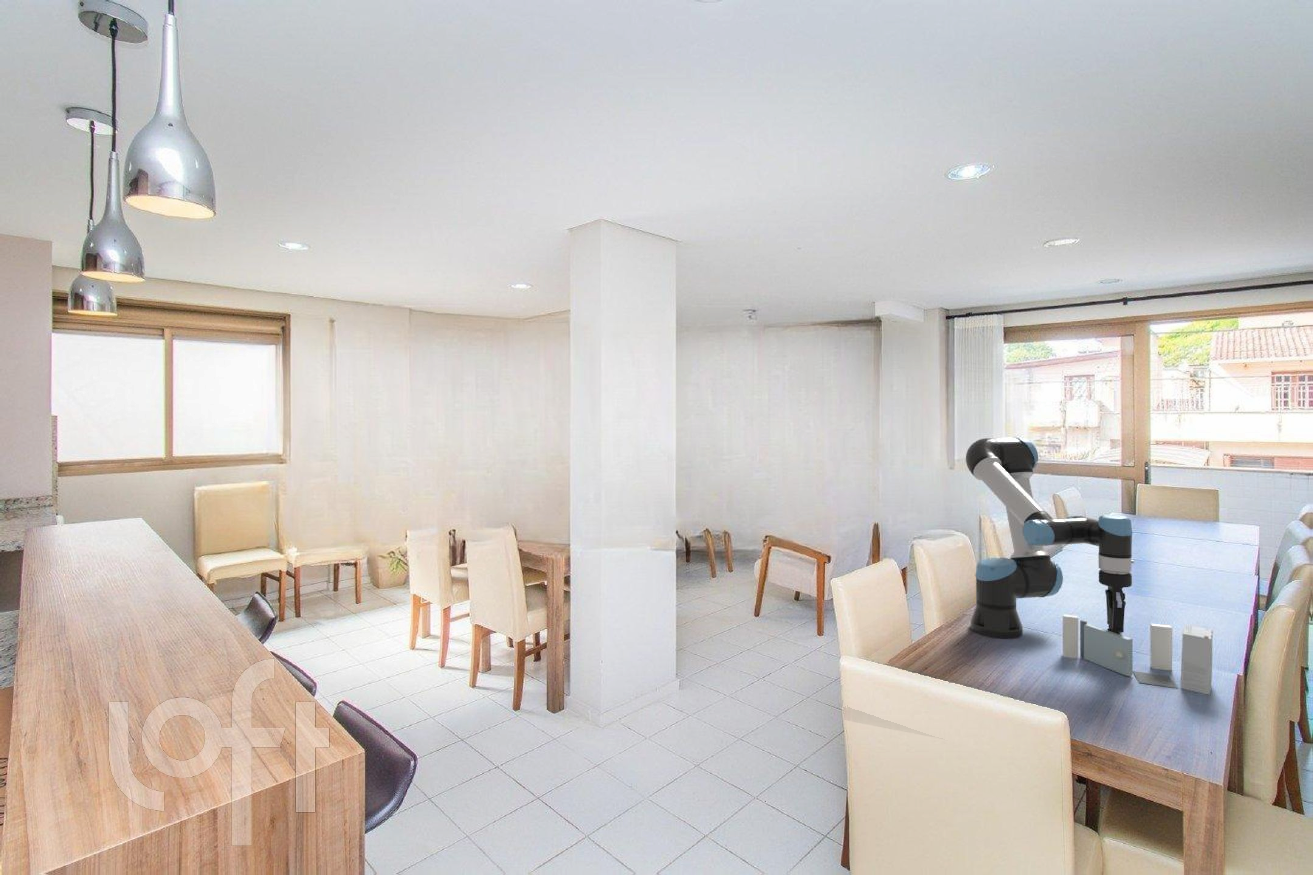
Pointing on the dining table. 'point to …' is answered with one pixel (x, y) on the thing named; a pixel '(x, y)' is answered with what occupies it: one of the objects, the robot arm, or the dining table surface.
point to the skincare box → (1196, 659)
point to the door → (1106, 648)
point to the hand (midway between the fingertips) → (1115, 653)
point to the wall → (1158, 642)
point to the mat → (1154, 679)
